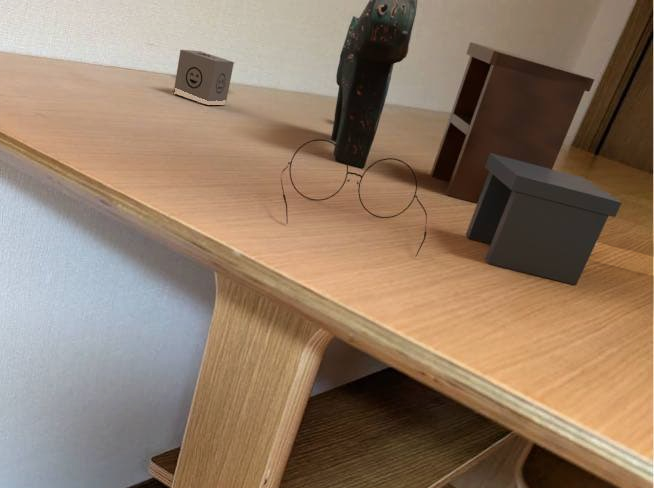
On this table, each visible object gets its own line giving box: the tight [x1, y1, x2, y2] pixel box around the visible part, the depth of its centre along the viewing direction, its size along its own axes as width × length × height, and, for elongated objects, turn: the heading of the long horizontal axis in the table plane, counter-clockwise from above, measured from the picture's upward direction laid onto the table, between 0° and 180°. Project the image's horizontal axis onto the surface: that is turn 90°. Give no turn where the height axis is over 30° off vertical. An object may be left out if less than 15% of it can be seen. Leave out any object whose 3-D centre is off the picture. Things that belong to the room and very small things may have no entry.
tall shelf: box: [429, 41, 595, 204], centre depth 91 cm, size 11×11×14 cm
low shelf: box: [465, 153, 623, 286], centre depth 70 cm, size 9×9×7 cm
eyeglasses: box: [280, 138, 428, 257], centre depth 67 cm, size 11×13×5 cm
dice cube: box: [173, 49, 235, 102], centre depth 103 cm, size 5×5×5 cm
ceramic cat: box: [330, 0, 418, 169], centre depth 92 cm, size 20×6×20 cm, turn 176°
